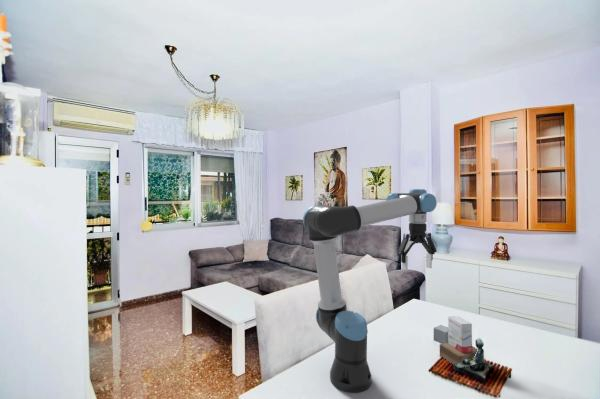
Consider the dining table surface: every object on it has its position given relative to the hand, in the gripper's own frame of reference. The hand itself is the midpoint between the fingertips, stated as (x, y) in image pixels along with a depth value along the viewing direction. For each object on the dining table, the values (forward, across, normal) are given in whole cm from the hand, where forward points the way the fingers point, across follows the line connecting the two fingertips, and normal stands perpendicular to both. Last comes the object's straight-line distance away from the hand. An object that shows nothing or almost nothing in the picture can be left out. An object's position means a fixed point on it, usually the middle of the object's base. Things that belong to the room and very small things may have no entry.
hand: (417, 268), depth 138 cm
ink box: (+30, +8, -17) cm, 35 cm away
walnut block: (+35, +8, -17) cm, 39 cm away
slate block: (+35, +14, -2) cm, 38 cm away
